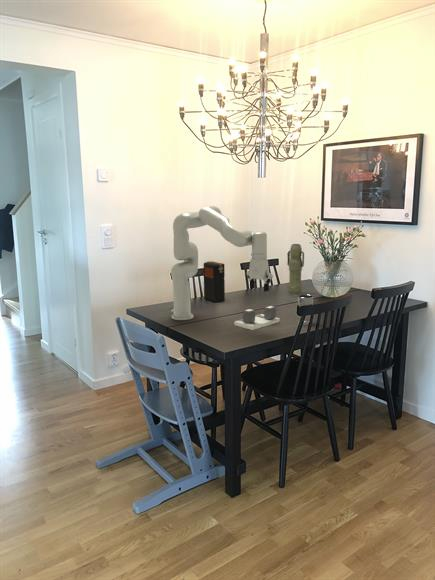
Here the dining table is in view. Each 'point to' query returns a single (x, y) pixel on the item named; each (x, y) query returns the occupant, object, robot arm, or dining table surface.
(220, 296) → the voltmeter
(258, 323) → the white rectangular tray
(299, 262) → the olive green tall statue
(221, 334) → the dining table surface
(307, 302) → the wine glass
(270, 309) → the handle
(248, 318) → the grey rounded block
